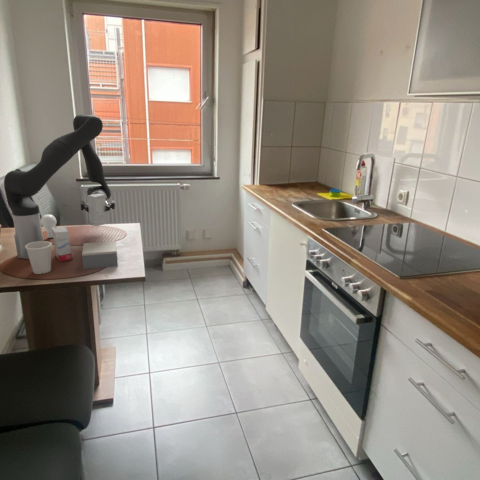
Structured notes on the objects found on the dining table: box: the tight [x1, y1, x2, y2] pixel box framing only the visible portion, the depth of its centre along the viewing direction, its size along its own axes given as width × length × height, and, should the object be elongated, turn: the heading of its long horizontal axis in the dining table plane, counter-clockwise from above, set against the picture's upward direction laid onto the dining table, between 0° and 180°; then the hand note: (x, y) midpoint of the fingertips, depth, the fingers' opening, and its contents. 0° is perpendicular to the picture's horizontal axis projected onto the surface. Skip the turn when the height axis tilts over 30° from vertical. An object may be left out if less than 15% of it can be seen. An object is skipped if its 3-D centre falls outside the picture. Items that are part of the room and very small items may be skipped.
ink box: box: [52, 225, 73, 262], centre depth 148 cm, size 9×5×12 cm, turn 33°
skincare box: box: [87, 194, 109, 227], centre depth 154 cm, size 6×4×12 cm
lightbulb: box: [40, 213, 57, 239], centre depth 170 cm, size 6×6×11 cm
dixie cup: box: [25, 240, 53, 275], centre depth 135 cm, size 8×8×10 cm
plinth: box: [81, 240, 119, 270], centre depth 146 cm, size 12×12×6 cm
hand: (97, 209), depth 152 cm, fingers closed on skincare box, 7 cm apart
